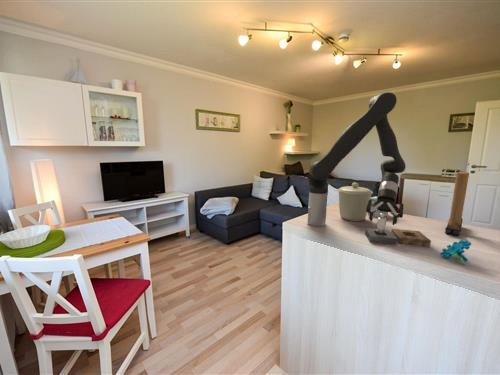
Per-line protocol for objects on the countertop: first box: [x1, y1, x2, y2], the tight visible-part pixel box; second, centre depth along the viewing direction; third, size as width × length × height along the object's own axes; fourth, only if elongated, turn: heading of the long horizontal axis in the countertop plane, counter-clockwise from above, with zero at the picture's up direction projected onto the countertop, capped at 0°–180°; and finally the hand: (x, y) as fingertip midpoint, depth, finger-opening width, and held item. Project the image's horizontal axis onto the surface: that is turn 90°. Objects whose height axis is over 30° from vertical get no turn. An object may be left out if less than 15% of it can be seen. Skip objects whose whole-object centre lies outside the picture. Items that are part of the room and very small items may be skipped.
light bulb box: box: [367, 195, 389, 218], centre depth 134 cm, size 11×7×11 cm, turn 117°
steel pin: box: [376, 213, 387, 235], centre depth 98 cm, size 3×3×12 cm
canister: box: [337, 182, 374, 222], centre depth 126 cm, size 18×18×21 cm
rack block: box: [390, 228, 432, 248], centre depth 97 cm, size 11×11×3 cm
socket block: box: [364, 227, 398, 246], centre depth 99 cm, size 10×10×3 cm
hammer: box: [444, 171, 470, 237], centre depth 105 cm, size 20×5×30 cm, turn 134°
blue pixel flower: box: [439, 239, 472, 266], centre depth 80 cm, size 11×6×10 cm
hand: (381, 222), depth 98 cm, fingers open, 8 cm apart
